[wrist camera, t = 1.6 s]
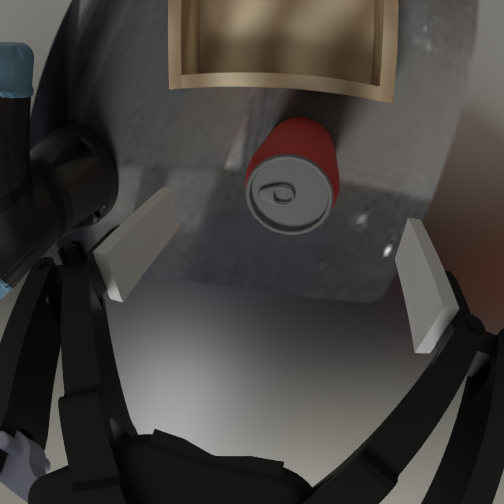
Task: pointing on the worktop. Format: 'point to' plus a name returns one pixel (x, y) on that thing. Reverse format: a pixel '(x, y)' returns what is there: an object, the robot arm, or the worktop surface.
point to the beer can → (293, 177)
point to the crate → (285, 45)
